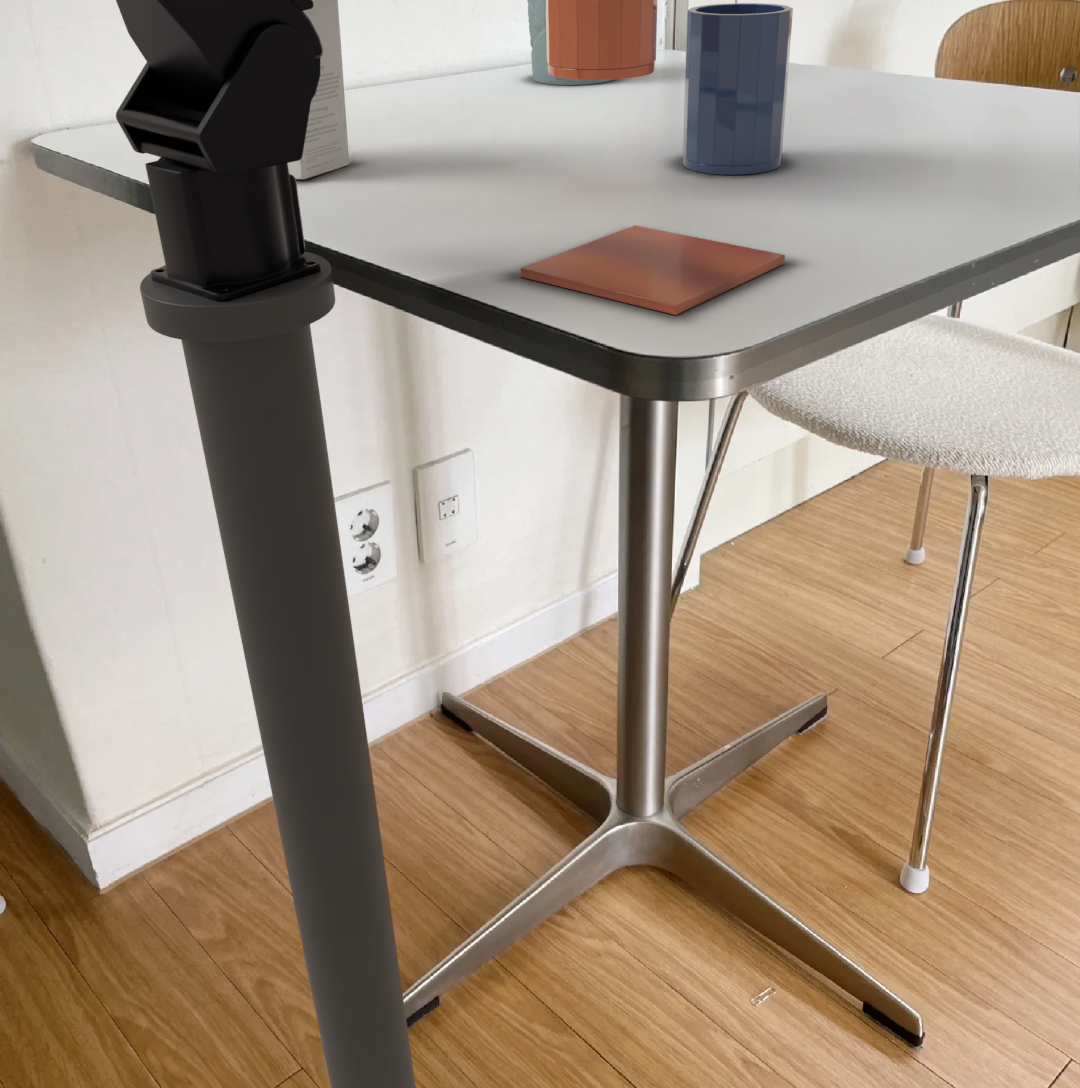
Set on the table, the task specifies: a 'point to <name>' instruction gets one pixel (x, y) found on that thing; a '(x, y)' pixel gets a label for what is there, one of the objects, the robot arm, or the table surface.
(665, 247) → the plate
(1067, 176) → the table surface
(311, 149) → the cosmetic box
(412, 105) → the table surface
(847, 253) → the table surface
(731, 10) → the blue crock
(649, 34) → the terracotta crock
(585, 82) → the grey-green textured cylinder
